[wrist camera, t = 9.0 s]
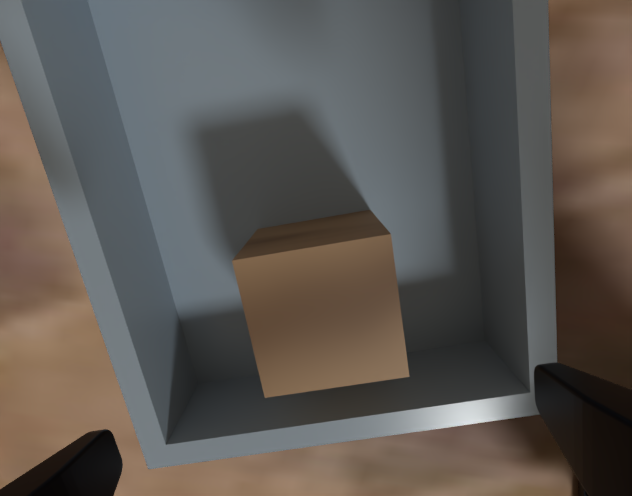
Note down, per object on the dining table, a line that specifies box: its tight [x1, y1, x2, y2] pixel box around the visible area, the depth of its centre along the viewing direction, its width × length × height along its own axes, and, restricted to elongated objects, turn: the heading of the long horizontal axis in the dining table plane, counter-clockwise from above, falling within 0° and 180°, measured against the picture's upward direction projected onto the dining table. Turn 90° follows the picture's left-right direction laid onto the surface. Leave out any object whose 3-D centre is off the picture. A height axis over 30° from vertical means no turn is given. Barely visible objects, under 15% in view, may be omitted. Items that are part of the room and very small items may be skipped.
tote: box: [0, 0, 557, 469], centre depth 15 cm, size 20×16×5 cm
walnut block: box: [232, 210, 410, 398], centre depth 15 cm, size 5×5×5 cm
